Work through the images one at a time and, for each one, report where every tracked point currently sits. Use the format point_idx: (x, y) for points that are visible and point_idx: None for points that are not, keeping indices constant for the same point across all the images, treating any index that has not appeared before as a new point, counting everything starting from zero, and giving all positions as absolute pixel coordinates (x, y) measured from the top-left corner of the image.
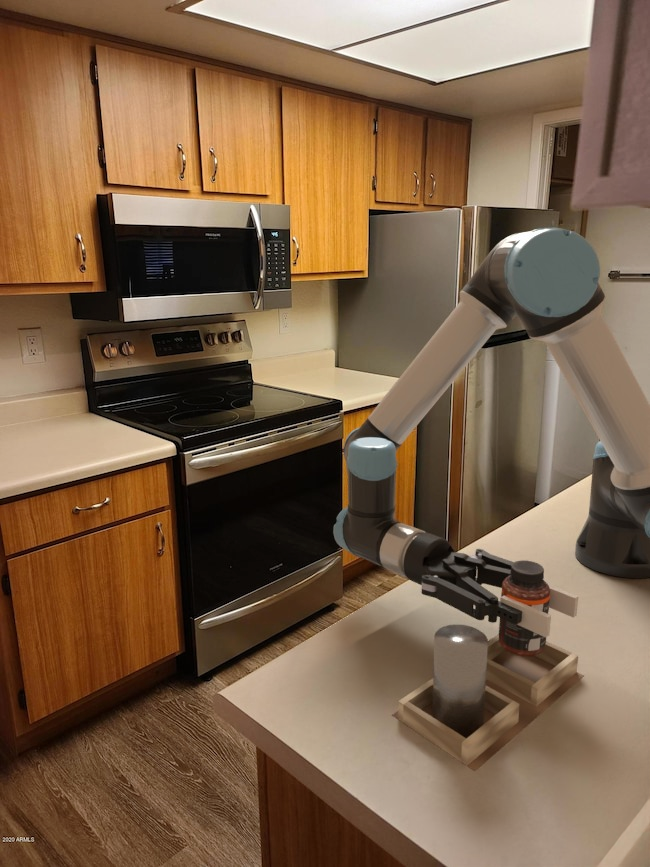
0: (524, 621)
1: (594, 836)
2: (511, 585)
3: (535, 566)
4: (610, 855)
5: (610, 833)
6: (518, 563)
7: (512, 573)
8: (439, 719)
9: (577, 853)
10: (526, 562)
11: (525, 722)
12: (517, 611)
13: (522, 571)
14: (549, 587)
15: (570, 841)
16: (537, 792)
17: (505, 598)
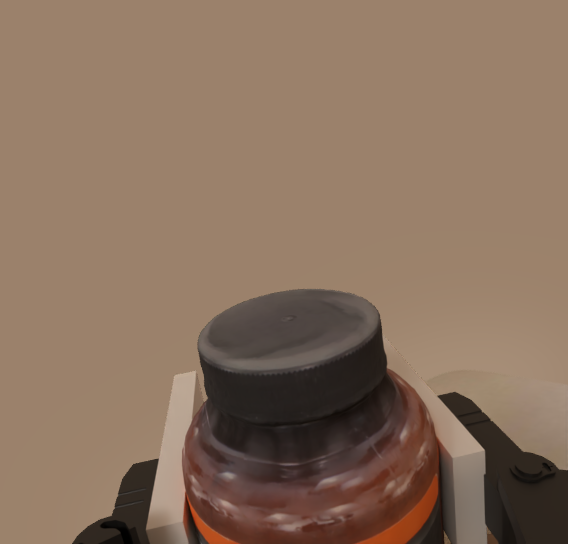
0: None
1: (493, 389)
2: (406, 399)
3: (249, 314)
4: (489, 374)
5: (468, 387)
6: (298, 344)
7: (383, 354)
8: None
9: (532, 383)
10: (242, 344)
11: (492, 541)
12: (445, 400)
13: (356, 299)
14: (182, 438)
15: (532, 393)
16: (545, 448)
17: (461, 436)
